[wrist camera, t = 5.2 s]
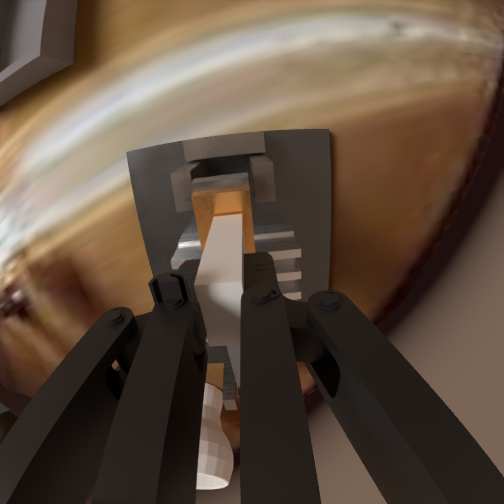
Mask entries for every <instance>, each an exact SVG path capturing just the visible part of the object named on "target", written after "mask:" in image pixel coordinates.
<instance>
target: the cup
mask: <svg viewBox="0 0 504 504" xmlns="http://www.w3.org/2000/svg"><path fill="white" fill-rule="evenodd" d="M222 405H223V393H222V392H221V391H220V390H219V389H218V388H217V387H215V386H213V385H211V384H208V383H205V390H204V400H203V411H202V421H201V433H200V444H199V457H198V471H197V486H196V489H218V488H223V487H226V486H227V485H229V481H230V477H231V474H232V470H233V453H232V450H231V447H230V444H229V441H228V439H227V438H226V436H225V434H224V433H223V431H222V429H221V422H220V413H221V409H222Z"/></svg>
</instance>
